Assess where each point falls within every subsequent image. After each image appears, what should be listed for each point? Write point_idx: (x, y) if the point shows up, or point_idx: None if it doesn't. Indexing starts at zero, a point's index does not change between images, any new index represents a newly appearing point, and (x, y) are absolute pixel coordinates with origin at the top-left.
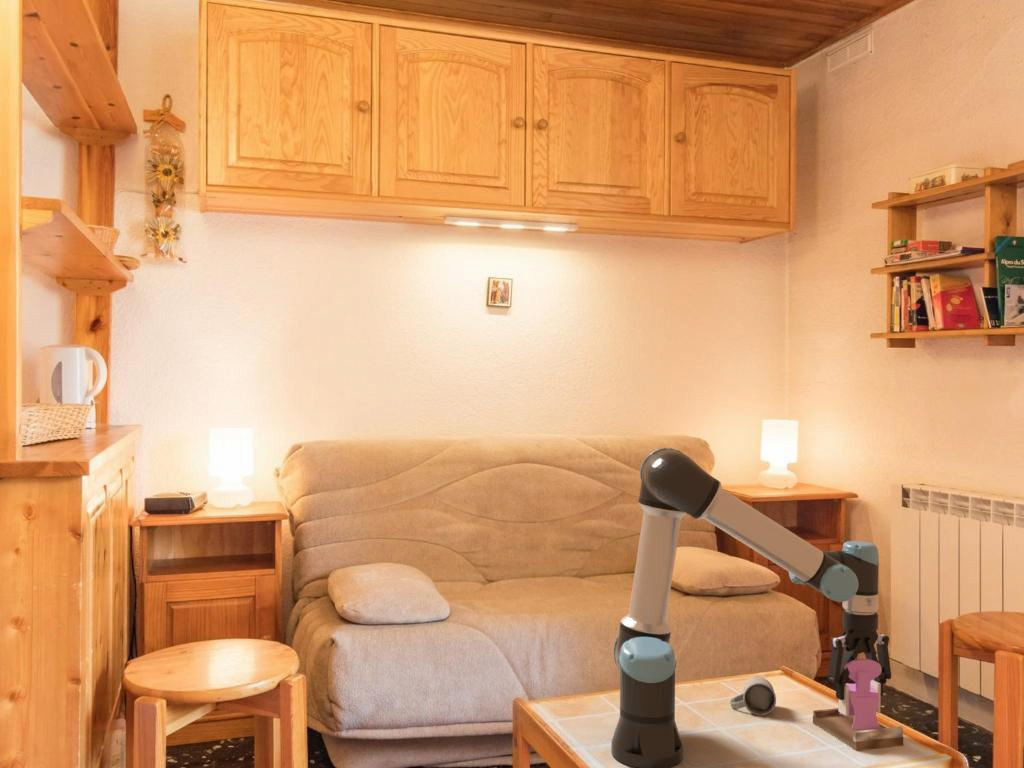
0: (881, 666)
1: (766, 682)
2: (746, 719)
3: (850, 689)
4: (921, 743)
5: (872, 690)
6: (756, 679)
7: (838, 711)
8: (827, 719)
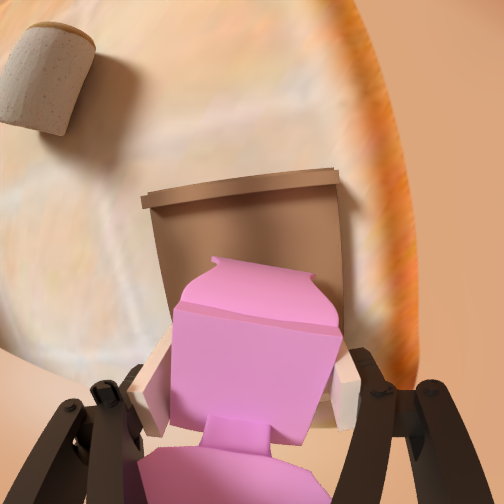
0: (423, 452)
1: (19, 84)
2: (21, 162)
3: (194, 392)
4: (390, 361)
5: (300, 416)
6: (5, 70)
7: (171, 325)
8: (179, 234)
